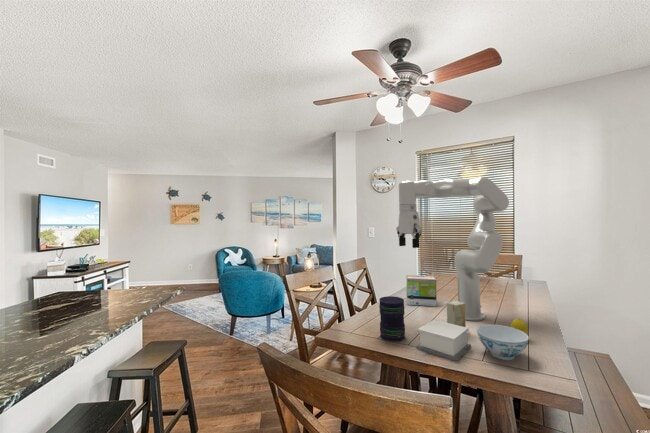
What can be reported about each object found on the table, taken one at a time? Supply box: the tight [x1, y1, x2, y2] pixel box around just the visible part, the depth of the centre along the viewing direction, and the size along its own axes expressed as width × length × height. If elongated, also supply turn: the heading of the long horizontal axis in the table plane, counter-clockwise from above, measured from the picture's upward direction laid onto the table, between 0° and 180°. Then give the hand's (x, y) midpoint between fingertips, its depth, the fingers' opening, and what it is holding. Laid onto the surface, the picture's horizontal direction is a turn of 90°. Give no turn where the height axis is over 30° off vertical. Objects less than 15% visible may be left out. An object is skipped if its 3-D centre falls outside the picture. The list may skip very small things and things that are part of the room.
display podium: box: [415, 319, 472, 362], centre depth 105 cm, size 14×14×7 cm
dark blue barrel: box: [379, 295, 406, 343], centre depth 116 cm, size 10×10×15 cm
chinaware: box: [476, 324, 529, 361], centre depth 99 cm, size 15×15×8 cm
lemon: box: [510, 318, 529, 335], centre depth 111 cm, size 6×6×8 cm
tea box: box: [406, 274, 438, 307], centre depth 160 cm, size 15×10×15 cm, turn 77°
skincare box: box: [446, 300, 466, 327], centre depth 119 cm, size 6×4×12 cm
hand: (408, 246), depth 130 cm, fingers open, 9 cm apart
